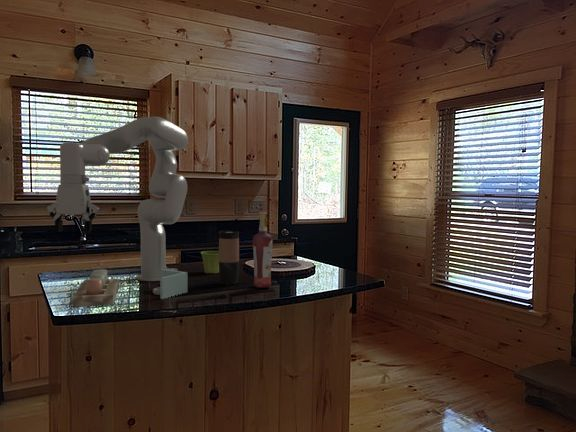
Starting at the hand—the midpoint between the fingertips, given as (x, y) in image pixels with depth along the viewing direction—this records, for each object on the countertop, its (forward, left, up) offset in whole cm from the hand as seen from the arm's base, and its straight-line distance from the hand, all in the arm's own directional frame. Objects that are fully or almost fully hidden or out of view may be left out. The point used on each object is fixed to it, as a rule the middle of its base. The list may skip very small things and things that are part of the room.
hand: (73, 232), depth 162 cm
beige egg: (-7, -8, -19) cm, 22 cm away
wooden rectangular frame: (-7, 0, -22) cm, 23 cm away
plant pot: (-49, -34, -22) cm, 64 cm away
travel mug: (-53, -11, -22) cm, 58 cm away
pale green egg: (-7, 0, -19) cm, 21 cm away
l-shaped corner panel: (-28, +1, -22) cm, 36 cm away
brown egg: (-7, +8, -20) cm, 22 cm away
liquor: (-64, -1, -22) cm, 68 cm away
